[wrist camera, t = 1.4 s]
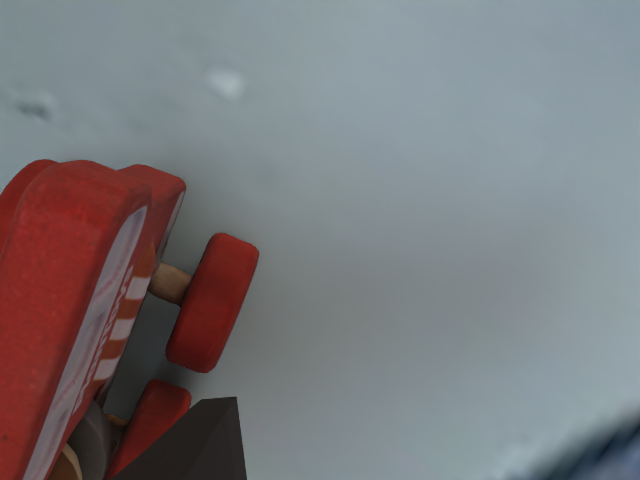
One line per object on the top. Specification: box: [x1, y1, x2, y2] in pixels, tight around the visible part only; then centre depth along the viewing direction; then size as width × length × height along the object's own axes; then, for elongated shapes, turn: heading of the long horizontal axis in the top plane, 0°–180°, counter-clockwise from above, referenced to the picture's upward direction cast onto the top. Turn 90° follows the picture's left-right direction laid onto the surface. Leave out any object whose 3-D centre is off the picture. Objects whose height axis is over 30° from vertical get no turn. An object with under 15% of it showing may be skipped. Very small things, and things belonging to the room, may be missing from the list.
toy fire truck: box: [0, 159, 259, 480], centre depth 15 cm, size 7×12×10 cm, turn 155°
